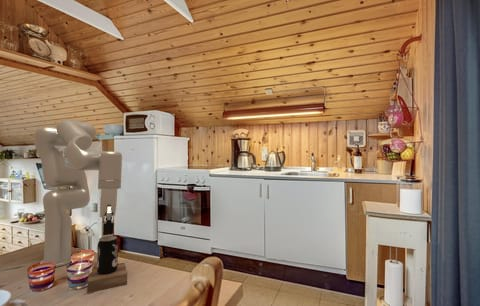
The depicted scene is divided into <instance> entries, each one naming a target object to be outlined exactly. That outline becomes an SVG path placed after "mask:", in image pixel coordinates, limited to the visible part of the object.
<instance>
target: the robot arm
mask: <svg viewBox="0 0 480 306" xmlns="http://www.w3.org/2000/svg"><path fill="white" fill-rule="evenodd" d="M96 133H97V132H96V128H95V126H94V125H93V124H91V123H89V122H84V121H78V120H72V119H65V120H61V121H60V122H59V123H58V124H56V126H40V127H39V128H37V129H36V130H35V132H34V135H33V143H34V147H35V150H36V151H37V154H38V155H39V157H40V162H41V168H42V175H43V176H42V177H43V182H44V184H45V185H46V186H47V187H49V188H59V189H52V190H50V191H47V192H46V193H45V194H44V196H43V198H42V205H43V210H44V211H43V212H44V243H43V247H44V248H43V259H41V260H40V261H39V263H41V262H55V263H56V267H55V268H58V267H62V266H65V265H68V264H71V263H72V262H71V255H72V230H73V229H72V228H73V227H72V226H73V220H72V217H71V215H69V214H68V212H67V211H70V210H77V209H82V208H85V207H87V206H88V205H89V203H90V200H91V199H90V198H91V195H90V189H89V184H88V179H87V174H86V171H98V181H97V182H98V184H97V190H100V199H99V202H100V203H99V204H100V205H99V217H100V218H103V223H102V224H103V225H102V226H103V227H102V235H103V236H112V235H113V234H114V223H115V222H114V217H115V216H116V210H117V199H118V190H120V189H122V188H121V187H122V170H123V169H122V167H123V164H122V163H123V155H122V153H121V152H119V151H111V150H110V151H105V150H88V149H89V148H90V147H91V146H92V144H93V140H94V139H95V137H96ZM55 146H56V147H58V146H59V147H65V156H64V155H63V153H62V152H61V151H60V150H59V149H58V148H56V147H55ZM65 159H66V160H67V161H68V163H69V164H70V165H67V164H66V161H65ZM67 187H71V188H67ZM70 262H71V263H70ZM39 263H38V264H39Z"/></svg>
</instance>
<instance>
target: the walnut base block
mask: <svg viewBox="0 0 480 306" xmlns="http://www.w3.org/2000/svg"><path fill="white" fill-rule="evenodd" d="M92 268H93V269H92V272H91V275H89V274H88V277H87V285H86V286H87V287H86V289H87V290H86V292H87V294H88V293H94V292H98V291H102V290H108V289H111V288H116V287H121V286H125V285H127V284H128V271H127V268H126V262H120V263H118V265H117V269H116V270H115V271H114V272H112V273H110V274H99V273H98V272H97V266H95V267H92Z"/></svg>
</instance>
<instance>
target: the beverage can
mask: <svg viewBox="0 0 480 306" xmlns="http://www.w3.org/2000/svg"><path fill="white" fill-rule="evenodd" d="M118 252H119V241H118V239H117V236H116V235H105V236H102V237H100V238H99V239H98V242H97V256H96V257H97V258H96V259H97V262H96V267H97V272H98V273H99V274H110V273H112V272H114V271H115V270H116V269H117V265H118V264H119V263H118V262H119V259H118V255H119V254H118Z"/></svg>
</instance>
